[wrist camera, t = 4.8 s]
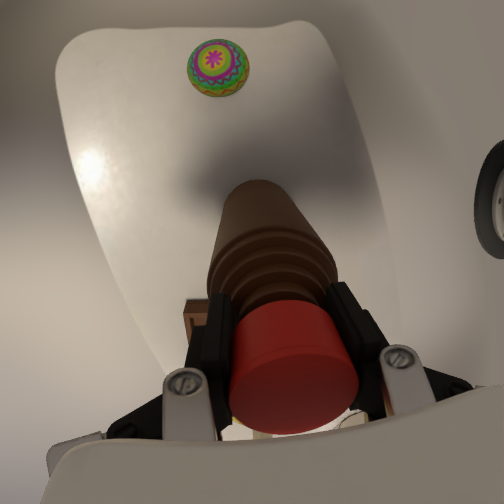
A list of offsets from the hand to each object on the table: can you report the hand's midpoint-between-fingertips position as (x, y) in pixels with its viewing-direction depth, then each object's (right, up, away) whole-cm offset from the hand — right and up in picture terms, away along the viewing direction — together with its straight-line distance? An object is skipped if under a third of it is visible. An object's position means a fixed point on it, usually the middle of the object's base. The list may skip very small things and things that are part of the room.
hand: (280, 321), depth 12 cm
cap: (0, -1, -1) cm, 2 cm away
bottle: (-1, +6, +15) cm, 17 cm away
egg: (-4, +18, +11) cm, 21 cm away
